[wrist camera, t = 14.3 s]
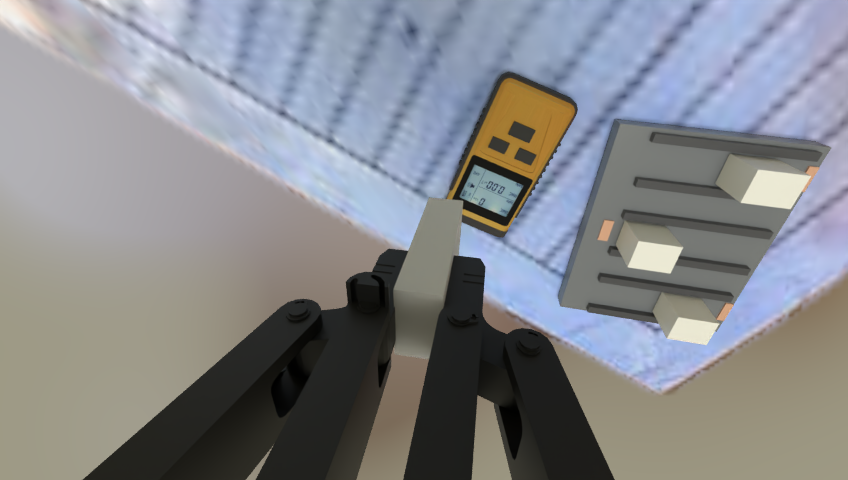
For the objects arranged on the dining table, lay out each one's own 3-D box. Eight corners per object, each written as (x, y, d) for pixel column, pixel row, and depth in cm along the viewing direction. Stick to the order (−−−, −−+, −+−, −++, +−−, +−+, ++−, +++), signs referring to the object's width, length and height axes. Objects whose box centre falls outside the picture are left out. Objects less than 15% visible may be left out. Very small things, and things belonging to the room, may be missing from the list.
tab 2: (662, 290, 44) (678, 317, 40) (699, 296, 43) (719, 323, 39) (652, 311, 45) (666, 338, 41) (688, 316, 45) (706, 345, 41)
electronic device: (579, 100, 38) (586, 106, 35) (506, 228, 46) (507, 242, 43) (501, 66, 37) (502, 69, 35) (440, 201, 45) (437, 213, 42)
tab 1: (625, 219, 40) (638, 241, 36) (665, 225, 40) (683, 247, 36) (615, 244, 42) (627, 267, 38) (654, 249, 41) (670, 273, 37)
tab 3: (730, 153, 35) (758, 169, 32) (776, 158, 35) (811, 176, 31) (715, 183, 37) (740, 202, 33) (759, 189, 37) (790, 209, 33)
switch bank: (614, 119, 38) (622, 125, 35) (815, 141, 36) (838, 150, 33) (557, 296, 49) (561, 310, 46) (708, 320, 47) (720, 336, 44)
